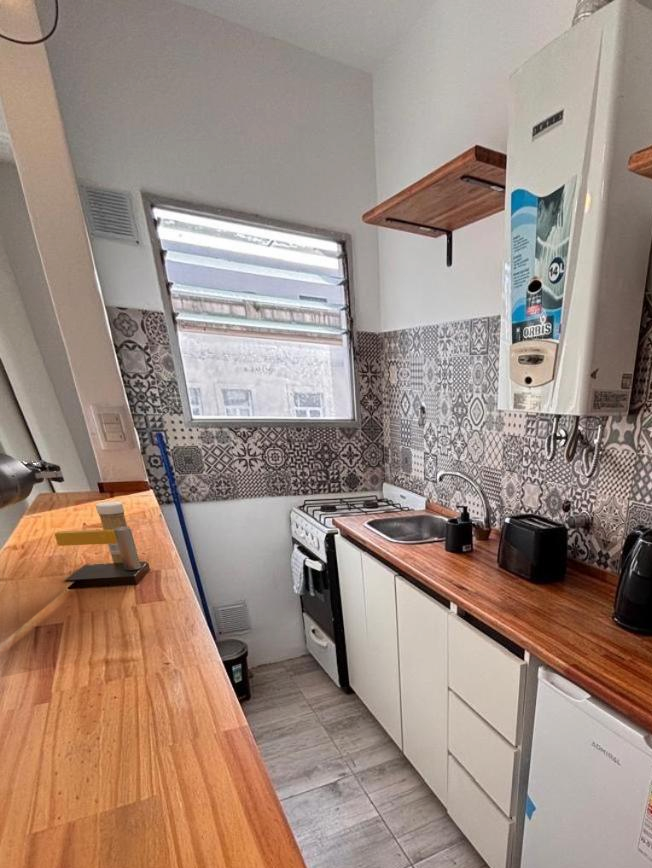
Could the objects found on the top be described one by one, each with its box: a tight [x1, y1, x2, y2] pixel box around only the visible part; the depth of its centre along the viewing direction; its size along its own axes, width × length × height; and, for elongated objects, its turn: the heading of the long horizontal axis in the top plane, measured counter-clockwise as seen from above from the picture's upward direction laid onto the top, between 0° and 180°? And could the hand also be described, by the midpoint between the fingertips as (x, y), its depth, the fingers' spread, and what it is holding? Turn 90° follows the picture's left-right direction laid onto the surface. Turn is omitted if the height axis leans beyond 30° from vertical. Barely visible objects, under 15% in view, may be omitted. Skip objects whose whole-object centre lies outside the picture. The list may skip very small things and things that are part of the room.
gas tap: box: [53, 526, 141, 570], centre depth 101 cm, size 12×3×8 cm, turn 107°
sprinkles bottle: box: [95, 501, 128, 563], centre depth 108 cm, size 5×5×13 cm
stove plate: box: [64, 560, 151, 590], centre depth 103 cm, size 12×10×2 cm
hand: (40, 466), depth 89 cm, fingers closed
